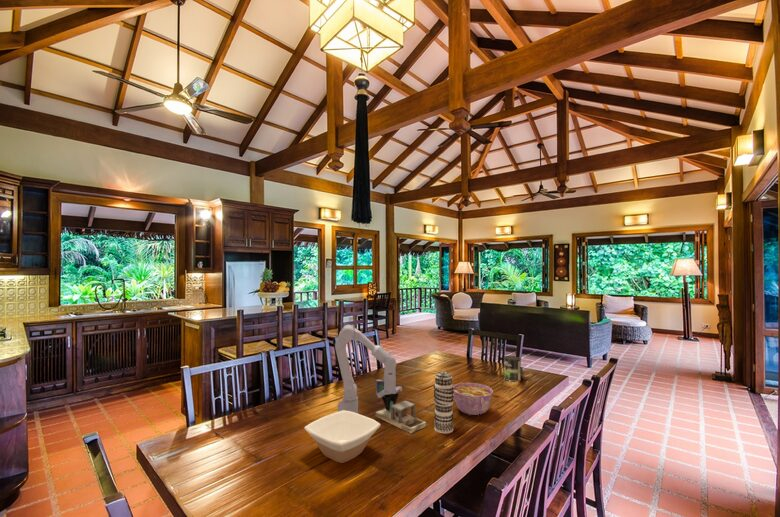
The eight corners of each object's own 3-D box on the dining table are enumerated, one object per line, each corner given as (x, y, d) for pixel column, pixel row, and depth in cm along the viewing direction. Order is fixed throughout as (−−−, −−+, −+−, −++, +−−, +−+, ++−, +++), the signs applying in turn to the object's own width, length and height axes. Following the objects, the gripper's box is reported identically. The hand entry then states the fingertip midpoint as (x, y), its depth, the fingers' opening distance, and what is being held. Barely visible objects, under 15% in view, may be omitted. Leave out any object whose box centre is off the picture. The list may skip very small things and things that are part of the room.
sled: (403, 422, 160) (403, 411, 160) (383, 413, 170) (383, 402, 171) (413, 418, 164) (413, 407, 164) (393, 409, 175) (393, 399, 175)
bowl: (343, 432, 155) (343, 407, 156) (386, 450, 140) (386, 423, 140) (298, 454, 137) (298, 426, 137) (341, 478, 122) (342, 447, 122)
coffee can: (512, 382, 222) (511, 360, 222) (500, 378, 231) (500, 356, 231) (524, 380, 226) (524, 358, 226) (512, 376, 235) (512, 355, 236)
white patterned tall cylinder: (438, 435, 153) (438, 377, 153) (430, 425, 162) (430, 371, 162) (457, 432, 155) (457, 375, 156) (448, 423, 164) (448, 369, 165)
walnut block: (400, 417, 163) (400, 409, 163) (395, 415, 166) (395, 406, 166) (407, 415, 166) (407, 406, 166) (401, 412, 169) (401, 404, 169)
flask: (375, 396, 199) (375, 377, 199) (377, 394, 201) (377, 375, 201) (390, 398, 195) (390, 379, 195) (392, 397, 197) (392, 377, 198)
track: (410, 433, 154) (410, 414, 154) (375, 416, 172) (375, 399, 172) (426, 426, 161) (426, 408, 161) (390, 410, 179) (390, 394, 179)
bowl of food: (495, 422, 165) (494, 397, 165) (451, 419, 169) (451, 394, 169) (491, 406, 184) (491, 384, 185) (452, 403, 188) (452, 381, 189)
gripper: (384, 386, 164) (384, 415, 164) (406, 379, 174) (406, 407, 174) (374, 382, 169) (374, 411, 169) (396, 376, 179) (396, 403, 179)
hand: (389, 409), depth 172 cm, fingers closed on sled, 2 cm apart
